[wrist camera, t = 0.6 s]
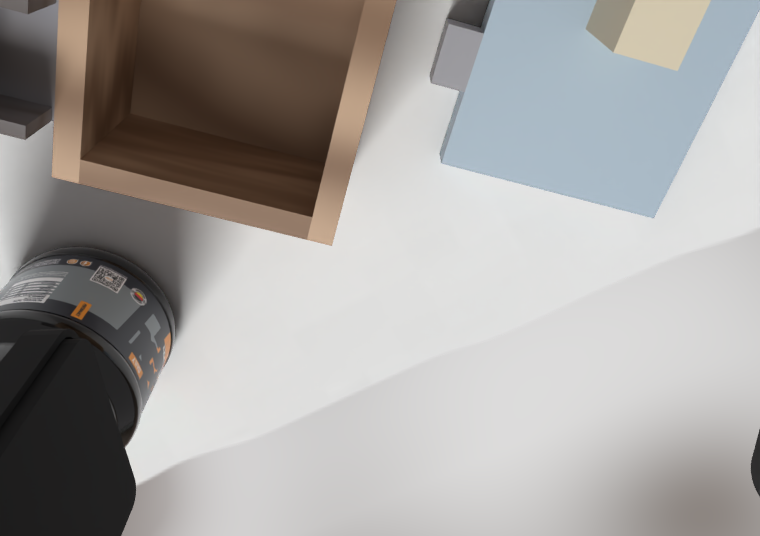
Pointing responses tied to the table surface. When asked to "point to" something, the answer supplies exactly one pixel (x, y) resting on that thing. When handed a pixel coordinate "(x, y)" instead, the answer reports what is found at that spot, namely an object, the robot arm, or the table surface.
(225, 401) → the table surface
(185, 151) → the cabinet
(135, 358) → the supplement container
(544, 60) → the door
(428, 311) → the table surface
